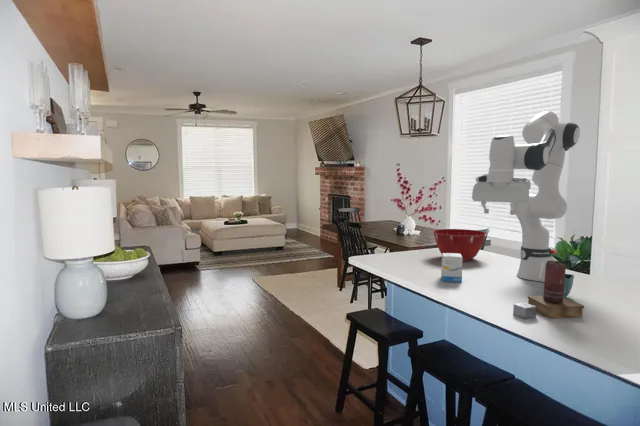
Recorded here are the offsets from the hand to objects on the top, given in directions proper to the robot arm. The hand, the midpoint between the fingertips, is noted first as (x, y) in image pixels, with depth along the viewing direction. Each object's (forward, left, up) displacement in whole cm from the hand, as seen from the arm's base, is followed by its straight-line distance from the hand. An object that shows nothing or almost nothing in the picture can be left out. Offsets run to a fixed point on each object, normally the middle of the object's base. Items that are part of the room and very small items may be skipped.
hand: (499, 213), depth 162 cm
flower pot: (-25, +2, -33) cm, 42 cm away
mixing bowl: (-17, -72, -33) cm, 81 cm away
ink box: (+6, -28, -33) cm, 44 cm away
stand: (-12, +18, -33) cm, 39 cm away
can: (-11, +18, -29) cm, 36 cm away
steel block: (+1, +21, -33) cm, 39 cm away
